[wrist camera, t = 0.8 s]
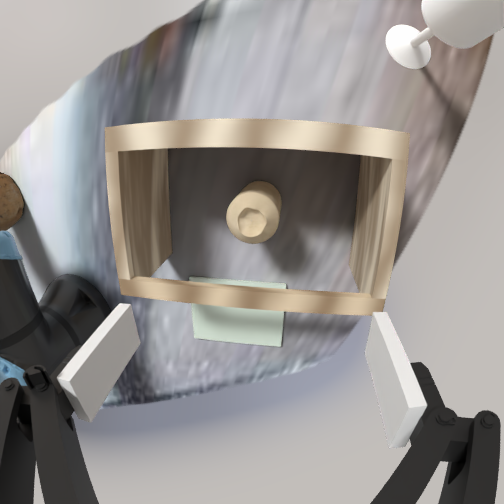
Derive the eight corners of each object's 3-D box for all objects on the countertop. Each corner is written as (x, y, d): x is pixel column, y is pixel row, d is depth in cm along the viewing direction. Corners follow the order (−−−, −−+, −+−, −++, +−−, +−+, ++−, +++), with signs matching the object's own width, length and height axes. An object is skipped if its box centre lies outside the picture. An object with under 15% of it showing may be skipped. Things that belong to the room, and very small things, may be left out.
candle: (236, 183, 40) (218, 199, 30) (278, 177, 39) (274, 191, 29) (242, 224, 42) (228, 251, 32) (284, 219, 41) (281, 245, 31)
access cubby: (163, 252, 44) (121, 294, 32) (157, 126, 38) (104, 127, 26) (359, 265, 42) (381, 315, 30) (373, 132, 35) (409, 133, 23)
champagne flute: (376, 45, 30) (462, -36, 8) (400, 15, 28) (488, -67, 6) (416, 79, 31) (534, 40, 9) (438, 48, 29) (552, 0, 7)
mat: (195, 336, 49) (194, 337, 49) (190, 276, 45) (189, 277, 45) (281, 344, 48) (280, 346, 47) (286, 283, 44) (286, 285, 43)
